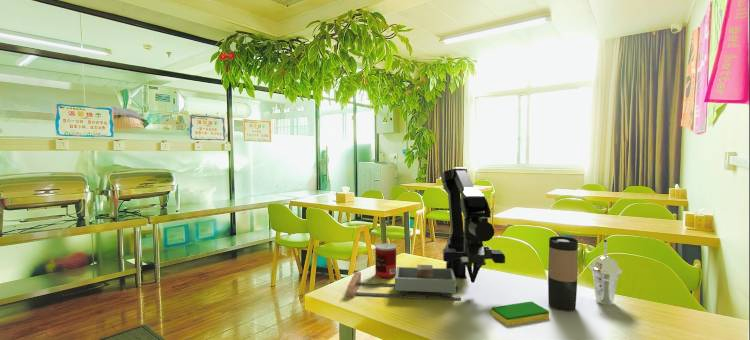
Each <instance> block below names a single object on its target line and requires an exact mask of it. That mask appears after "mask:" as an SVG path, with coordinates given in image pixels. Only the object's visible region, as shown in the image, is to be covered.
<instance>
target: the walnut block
mask: <svg viewBox="0 0 750 340" xmlns="http://www.w3.org/2000/svg"><path fill="white" fill-rule="evenodd" d="M416 267H417V278H423V279H433V268H434V267H433V264H416Z"/></svg>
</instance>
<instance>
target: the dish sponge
mask: <svg viewBox="0 0 750 340" xmlns="http://www.w3.org/2000/svg"><path fill="white" fill-rule="evenodd" d="M491 315H492V316H493V317H495V318H496V319H497V320H499V321H500V322H502V323H503V324H505V325H506V326H512V325H517V324H524V323H530V322H534V321H535V322H536V321H541V320H547V319H550V311H549V310H548V309H546V308H545V307H543V306H540V305H539V304H537V303H535V302H534V301H526V302H524V301H523V302H518V303H513V304H512V303H511V304H504V305H497V306H491Z"/></svg>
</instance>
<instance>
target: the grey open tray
mask: <svg viewBox="0 0 750 340" xmlns="http://www.w3.org/2000/svg"><path fill="white" fill-rule="evenodd" d="M456 279H457V278H455V276H454V273H453V269H446V267H445V268H444V267H443V268H442V267H440V268H438V267H433V279H423V278H417V266H416V267H414V266H413V267H412V266H396V275H395V277H394V284H395V287H394V290H395V291H399V292H400V294H402V295H408V293H409V292H422V293H423V292H428V293H429V292H430V293H442V296H444V297H448V296H449V297H450V296H451V294H456V293H457V289H456V286H457V283H456V282H457V280H456Z"/></svg>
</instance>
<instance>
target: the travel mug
mask: <svg viewBox="0 0 750 340" xmlns="http://www.w3.org/2000/svg"><path fill="white" fill-rule="evenodd" d="M548 241H549V242H548V270H547V271H548V272H547V286H548V287H547V288H548V289H547V290H548V291H547V293H548V295H547V296H548V298H547V299H548V306H549V307H550V308H551V309H554V310H557V311H560V312H574V311H576V308H577V307H576V306H577V293H578V292H577V291H578V266H579V265H578V262H579V261H578V259H579V257H578V256H579V255H578V254H579V241H578V239H576V238H573V237H568V236H558V235H557V236H550V237H549V239H548Z"/></svg>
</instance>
